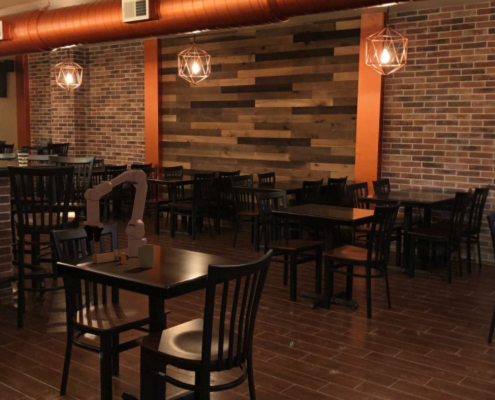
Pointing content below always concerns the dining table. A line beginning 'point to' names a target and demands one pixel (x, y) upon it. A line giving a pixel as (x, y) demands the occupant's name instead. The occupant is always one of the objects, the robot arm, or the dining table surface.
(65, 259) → the dining table surface
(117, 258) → the pivot post
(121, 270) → the dining table surface
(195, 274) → the dining table surface
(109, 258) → the gate rail
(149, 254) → the cup
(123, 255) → the latch stile
